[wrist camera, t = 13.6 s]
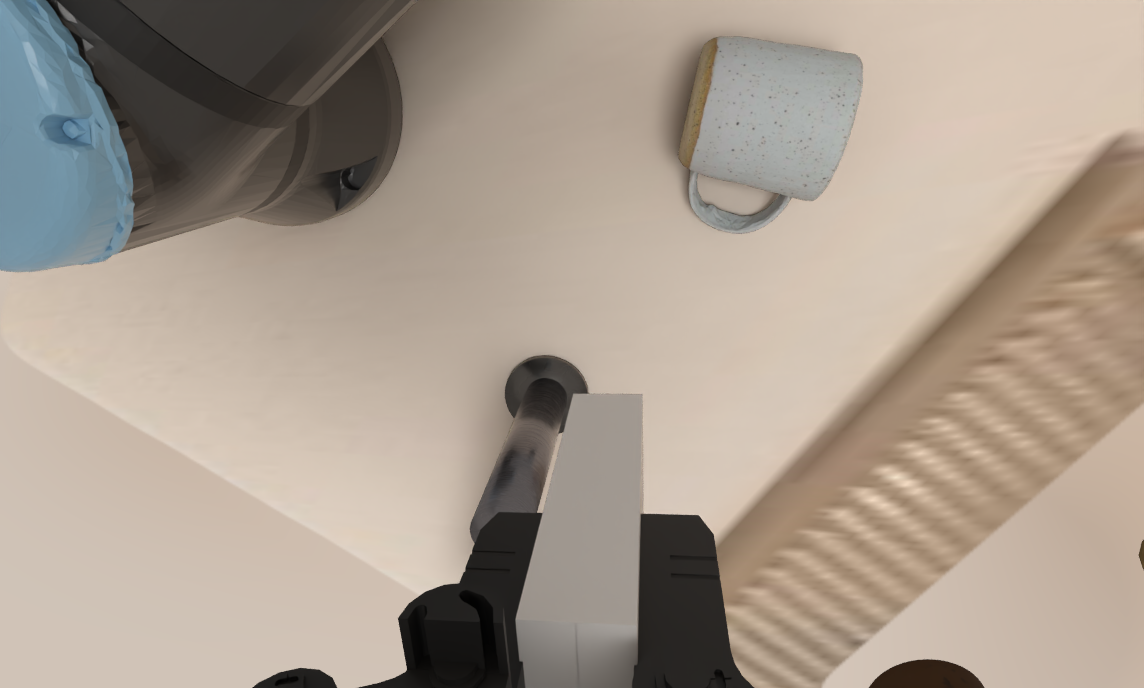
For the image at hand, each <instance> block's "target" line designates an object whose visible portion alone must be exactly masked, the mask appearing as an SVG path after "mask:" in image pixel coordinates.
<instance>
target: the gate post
mask: <svg viewBox="0 0 1144 688" xmlns="http://www.w3.org/2000/svg"><path fill="white" fill-rule="evenodd" d="M573 394H589V393H588V387H587V384H586V381H585V379H584V377H583V376H582V374H581V373H580V372H579V370H578V369H577V368H576V367H574V366H573V365H572V364H570V363H569V362H567V361H565V360H563V359H561V358H557V357H553V356H537V357H533V358H530V359H527V360H525V361H523V362H522V363H520V364H519V365H518V366H517V367H516V368H515V369H514V370H513V372H512V373H511V375H510V377H509V379H508V381H507V384H506V388H505V399H506V404H507V407H508V409H509V411H510V413H511V414H512V416H513V417H514V418H515V419H514V421H513V424H512V426H511V428H510V431H509V433H508V436H507V438H506V440H505V443H504V445H503V448H502V450H501V452H500V455H499V457H498V459H497V462H496V464H495V467H494V469H493V471H492V474H491V476H490V479H489V481H488V483H487V486H486V488H485V491H484V493H483V495H482V498H481V500H480V502H479V505H478V507H477V510H476V512H475V514H474V517H473V519H472V522H471V525H470V533H471V537H472V539H473V541H474V543H475V542H476V540H477V537H478V534H479V532H480V529H481V528H483V527H484V526H485V525H486V524H487V523H488V522H489V521H490V520H491V519H492V518H493V517H494V516H495V515H496V514H497V513H498V512H521V513H537V510H538V506H539V503H540V499H541V495H542V492H543V488H544V484H545V480H546V477H547V473H548V469H549V466H550V462H551V458H552V455H553V451H554V447H555V444H556V440H557V436H558V433H562V432H564V428H565V424H566V420H567V416H568V412H569V408H570V405H571V401H572V397H573Z"/></svg>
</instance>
